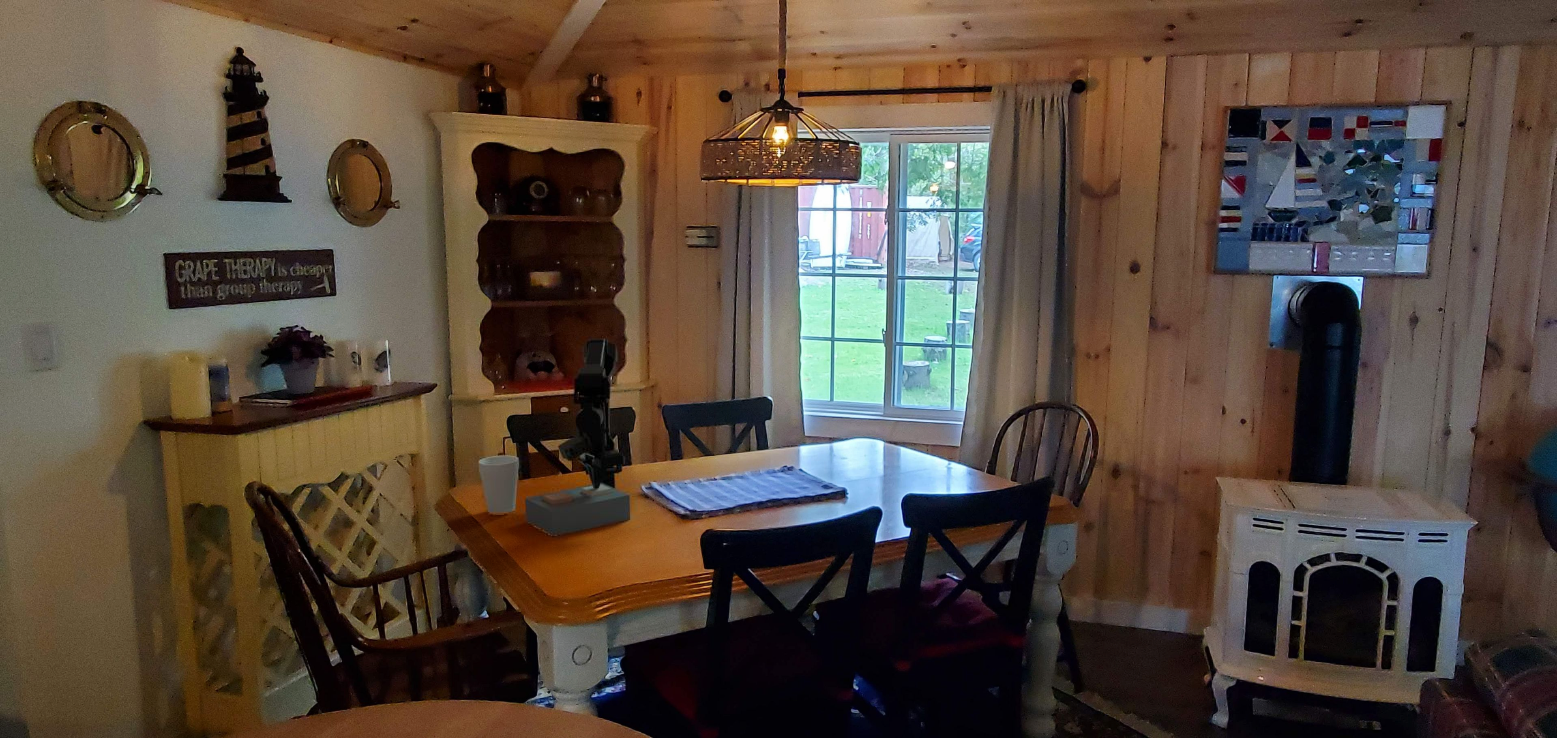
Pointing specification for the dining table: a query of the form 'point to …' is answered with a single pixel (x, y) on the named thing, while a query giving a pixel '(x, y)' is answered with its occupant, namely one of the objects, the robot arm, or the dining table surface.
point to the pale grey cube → (596, 491)
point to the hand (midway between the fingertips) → (596, 488)
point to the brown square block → (557, 498)
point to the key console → (577, 511)
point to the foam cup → (499, 482)
